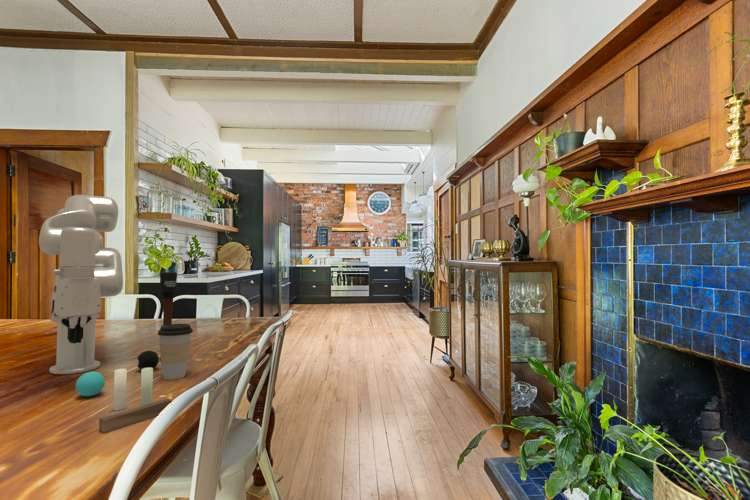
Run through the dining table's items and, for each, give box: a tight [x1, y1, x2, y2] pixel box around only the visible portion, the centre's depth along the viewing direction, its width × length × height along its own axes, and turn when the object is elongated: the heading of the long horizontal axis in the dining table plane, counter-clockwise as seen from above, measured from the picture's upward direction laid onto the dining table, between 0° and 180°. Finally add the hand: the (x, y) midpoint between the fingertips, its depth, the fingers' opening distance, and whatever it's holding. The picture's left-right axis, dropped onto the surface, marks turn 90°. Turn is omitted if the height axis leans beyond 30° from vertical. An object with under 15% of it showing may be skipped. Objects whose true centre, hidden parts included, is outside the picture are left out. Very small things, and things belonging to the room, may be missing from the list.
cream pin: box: [112, 368, 128, 412], centre depth 92 cm, size 2×2×9 cm
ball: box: [75, 371, 106, 397], centre depth 100 cm, size 6×6×6 cm
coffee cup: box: [157, 323, 194, 381], centre depth 117 cm, size 9×9×15 cm
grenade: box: [158, 271, 178, 326], centre depth 135 cm, size 6×6×30 cm
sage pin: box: [139, 367, 154, 406], centre depth 93 cm, size 2×2×9 cm
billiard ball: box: [136, 350, 160, 371], centre depth 123 cm, size 6×6×6 cm
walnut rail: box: [98, 397, 173, 434], centre depth 86 cm, size 2×14×2 cm, turn 148°
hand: (75, 342), depth 105 cm, fingers closed
